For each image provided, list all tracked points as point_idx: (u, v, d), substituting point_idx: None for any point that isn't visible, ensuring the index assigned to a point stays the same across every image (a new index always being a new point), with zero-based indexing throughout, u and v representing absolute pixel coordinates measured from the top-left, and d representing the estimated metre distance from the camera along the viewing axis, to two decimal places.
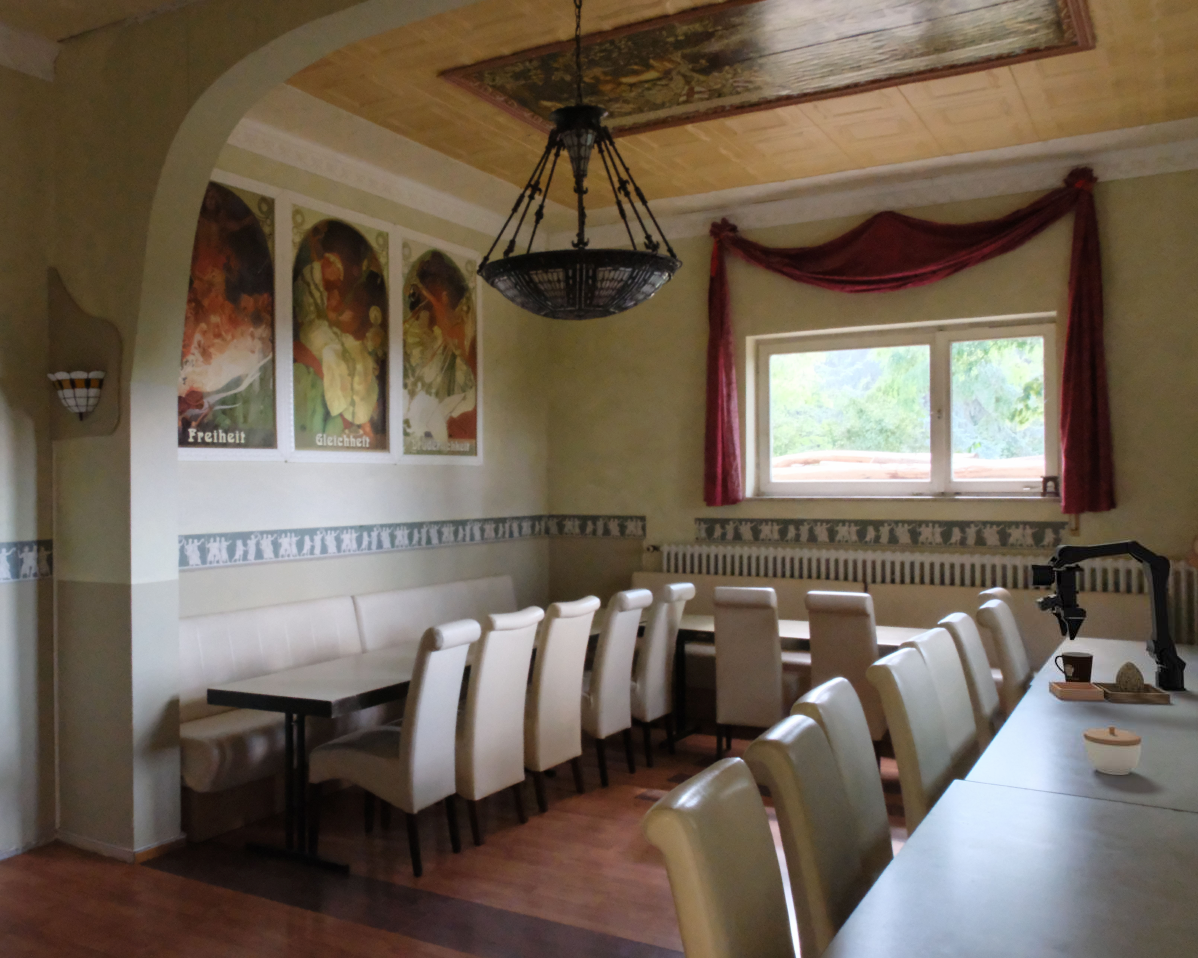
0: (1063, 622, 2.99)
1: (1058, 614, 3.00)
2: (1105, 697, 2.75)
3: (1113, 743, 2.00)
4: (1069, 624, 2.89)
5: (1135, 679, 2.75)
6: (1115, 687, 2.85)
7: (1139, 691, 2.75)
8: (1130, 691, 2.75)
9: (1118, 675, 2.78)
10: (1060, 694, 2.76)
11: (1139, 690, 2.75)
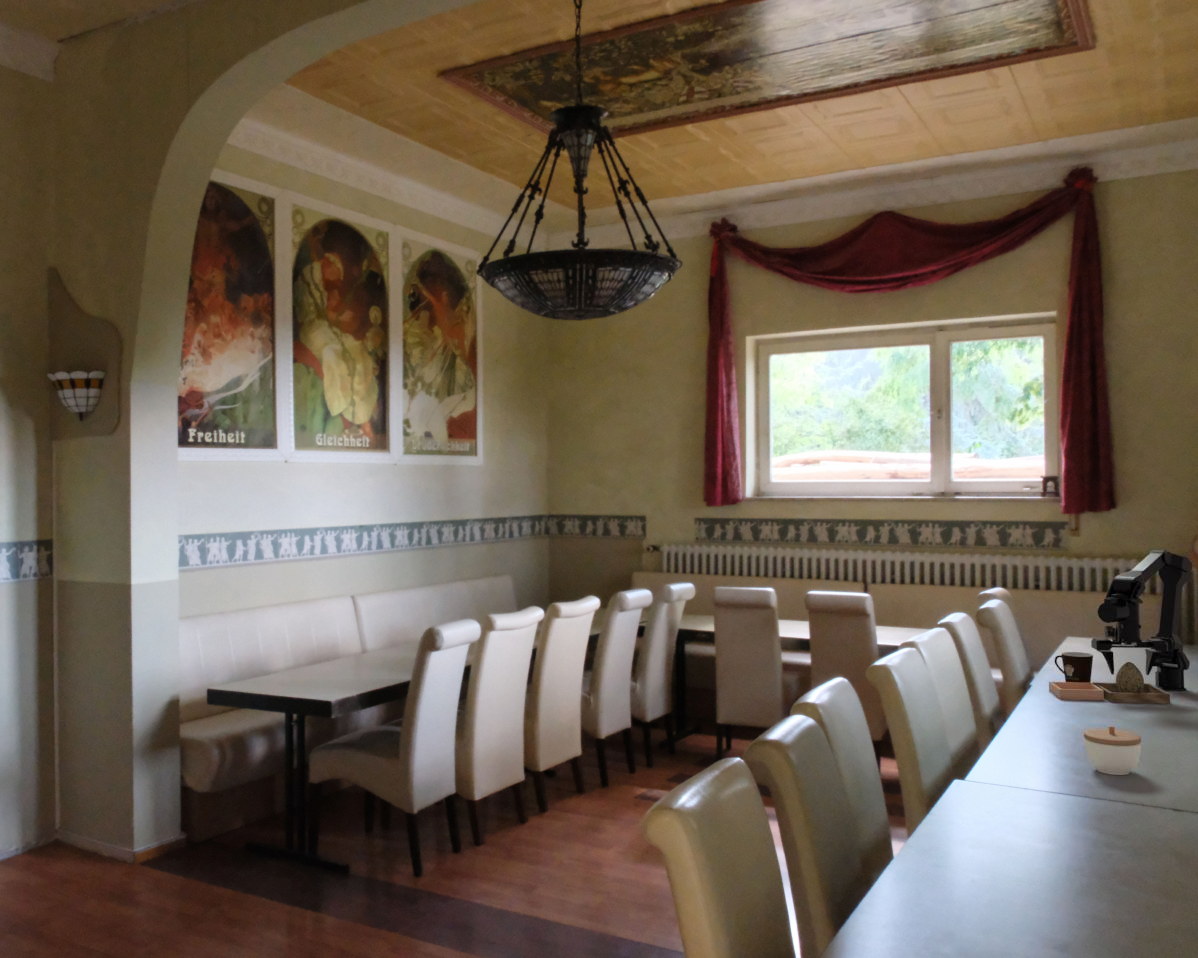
0: (1147, 660, 2.77)
1: (1147, 651, 2.79)
2: (1105, 697, 2.75)
3: (1113, 743, 2.00)
4: (1105, 656, 2.80)
5: (1135, 679, 2.75)
6: (1115, 687, 2.85)
7: (1139, 691, 2.75)
8: (1130, 691, 2.75)
9: (1118, 675, 2.78)
10: (1060, 694, 2.76)
11: (1139, 690, 2.75)
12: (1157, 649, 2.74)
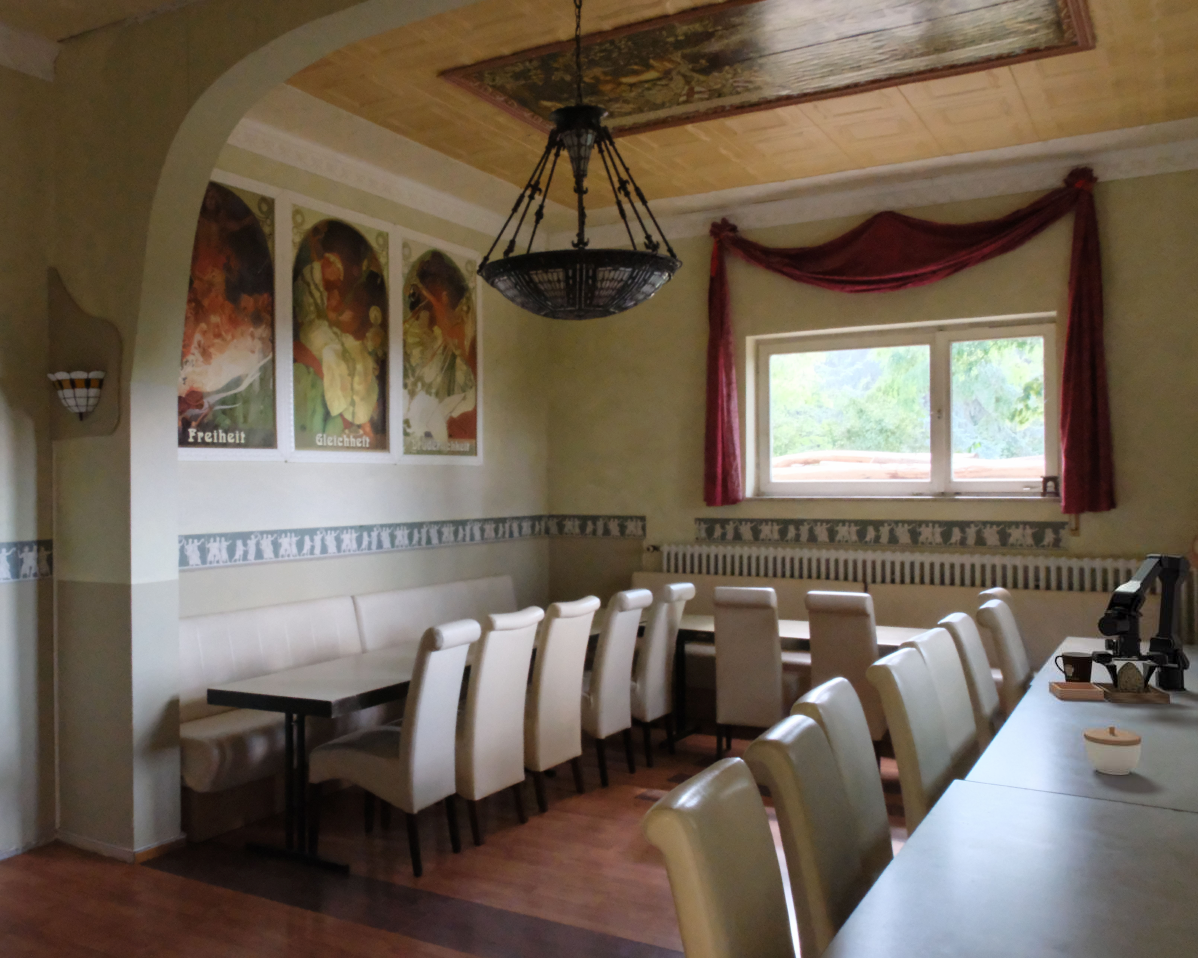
0: (1144, 673, 2.77)
1: (1143, 664, 2.79)
2: (1105, 697, 2.75)
3: (1113, 743, 2.00)
4: (1108, 669, 2.80)
5: (1135, 679, 2.75)
6: None
7: (1139, 691, 2.75)
8: (1130, 691, 2.75)
9: (1118, 675, 2.78)
10: (1060, 694, 2.76)
11: (1139, 690, 2.75)
12: (1157, 663, 2.74)
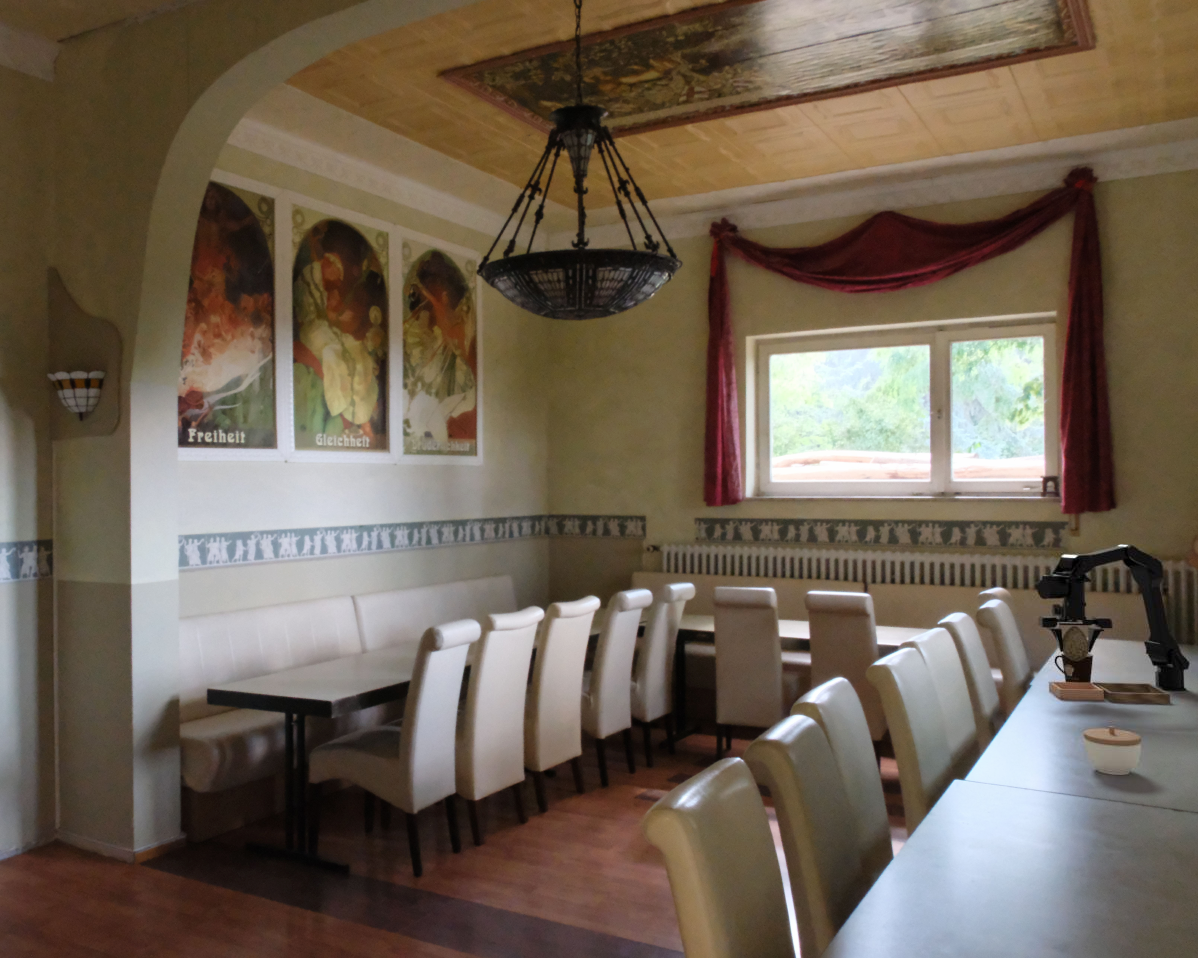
0: (1089, 638, 2.80)
1: (1089, 629, 2.82)
2: (1105, 697, 2.75)
3: (1113, 743, 2.00)
4: (1054, 634, 2.83)
5: (1079, 643, 2.78)
6: (1115, 687, 2.85)
7: (1084, 655, 2.78)
8: (1075, 655, 2.78)
9: (1063, 639, 2.81)
10: (1060, 694, 2.76)
11: (1084, 654, 2.78)
12: (1101, 626, 2.77)
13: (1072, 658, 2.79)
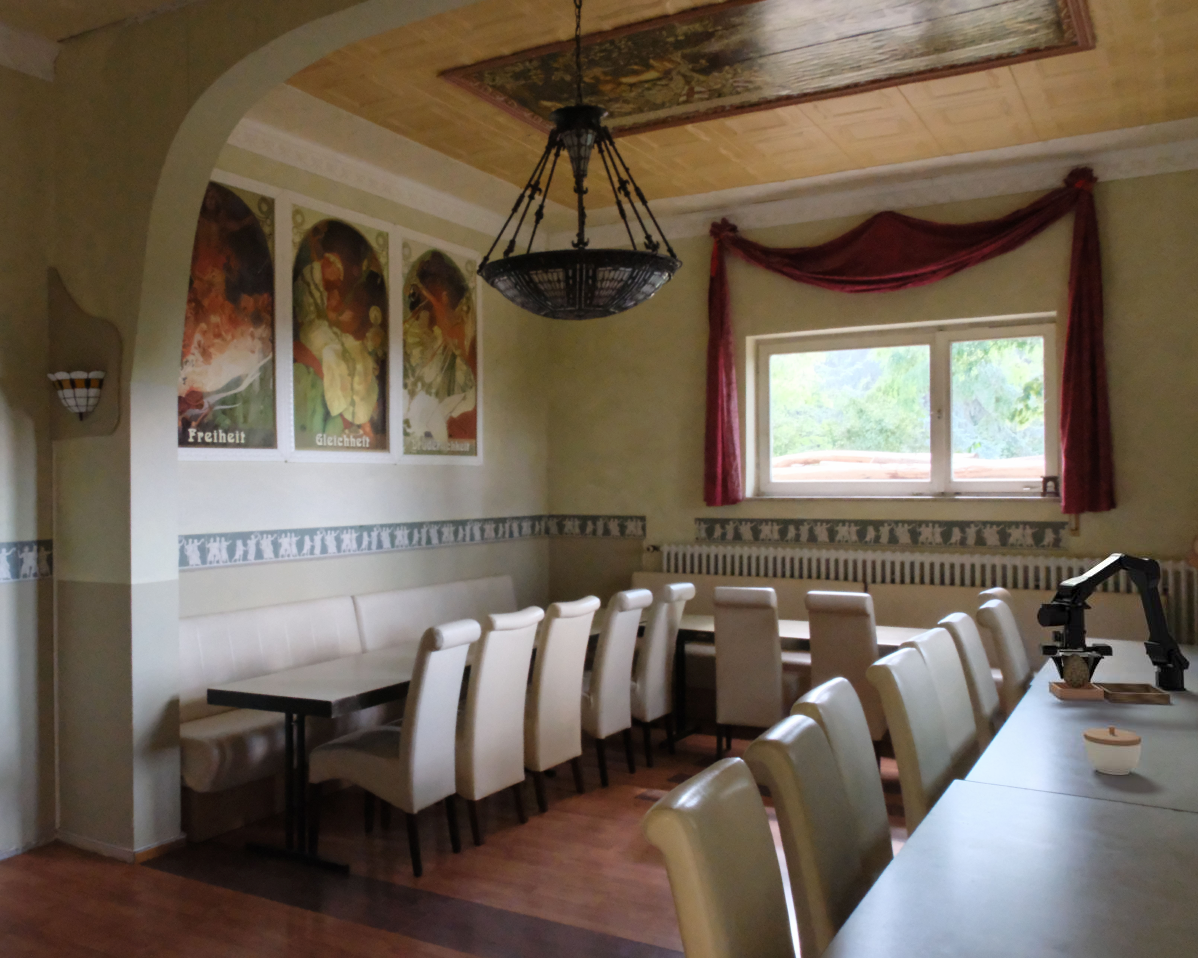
0: (1089, 665, 2.80)
1: (1089, 656, 2.82)
2: (1105, 697, 2.75)
3: (1113, 743, 2.00)
4: (1054, 661, 2.83)
5: (1080, 670, 2.78)
6: (1115, 687, 2.85)
7: (1084, 682, 2.78)
8: (1075, 682, 2.78)
9: (1064, 667, 2.81)
10: (1060, 694, 2.76)
11: (1084, 682, 2.78)
12: (1102, 654, 2.77)
13: (1073, 686, 2.79)
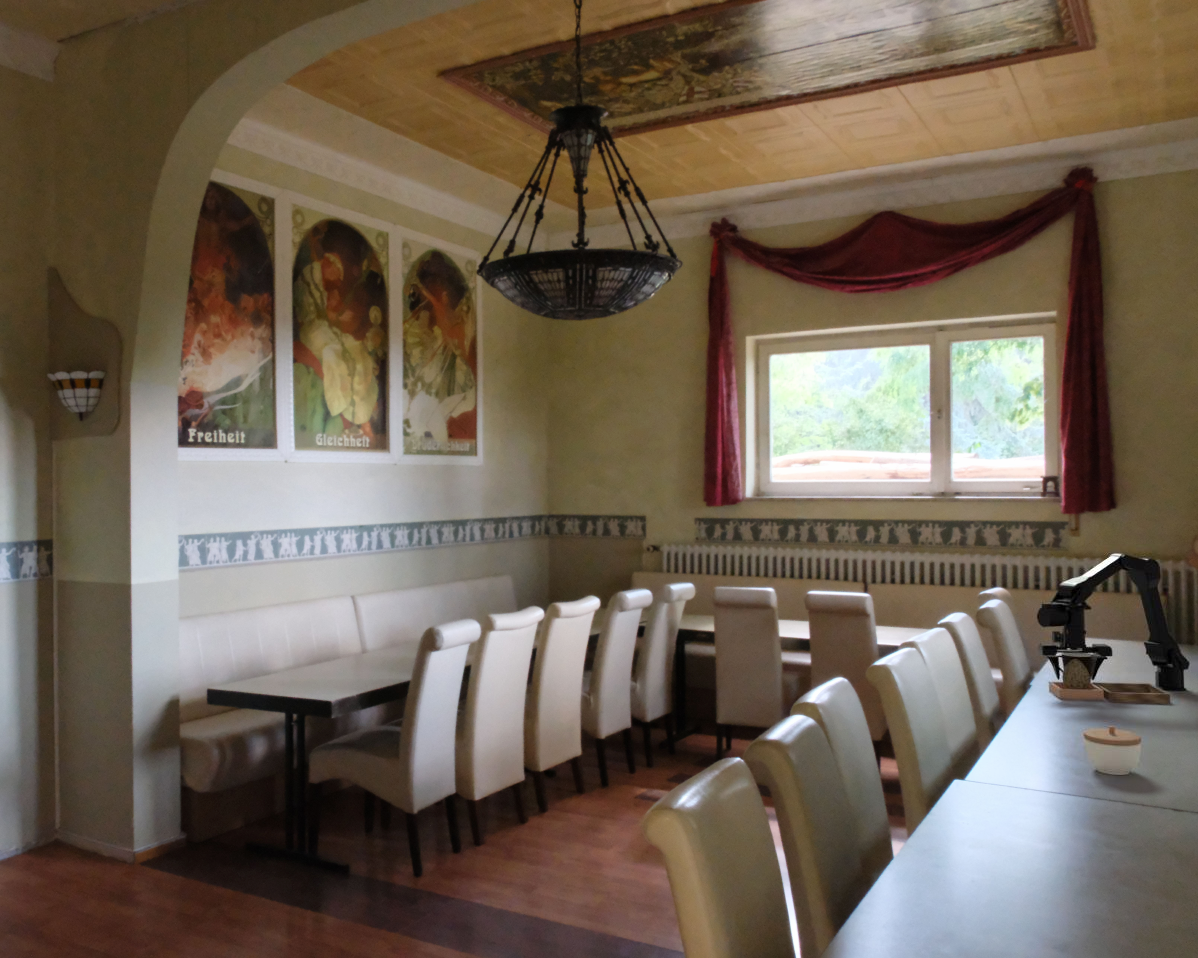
0: (1092, 665, 2.80)
1: (1092, 656, 2.81)
2: (1105, 697, 2.75)
3: (1113, 743, 2.00)
4: (1051, 661, 2.83)
5: (1080, 676, 2.77)
6: (1115, 687, 2.85)
7: (1085, 688, 2.78)
8: (1076, 688, 2.78)
9: (1064, 672, 2.81)
10: (1060, 694, 2.76)
11: (1084, 687, 2.78)
12: (1101, 654, 2.77)
13: None
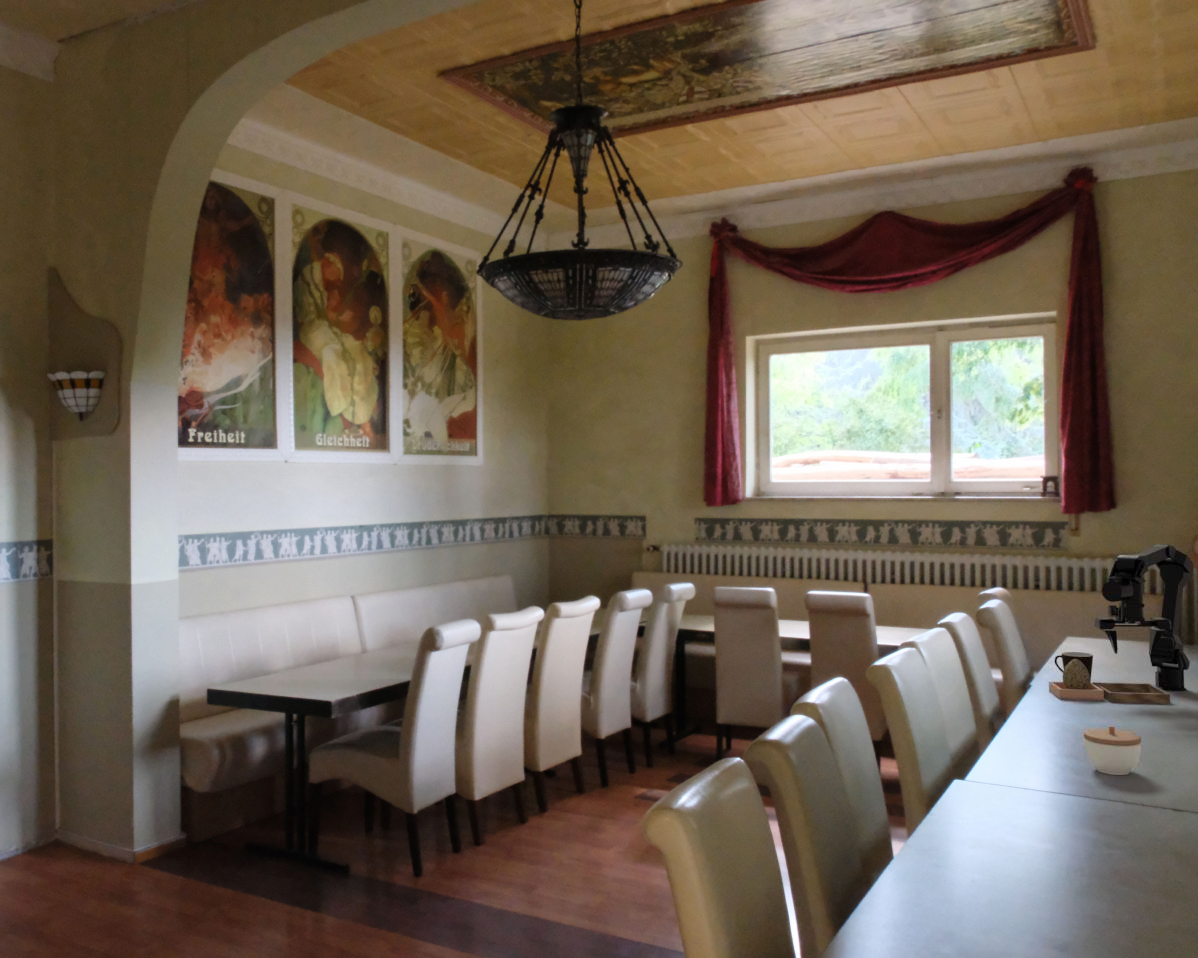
0: (1151, 639, 2.77)
1: (1150, 630, 2.78)
2: (1105, 697, 2.75)
3: (1113, 743, 2.00)
4: (1108, 635, 2.80)
5: (1080, 676, 2.78)
6: (1115, 687, 2.85)
7: (1085, 688, 2.78)
8: (1076, 687, 2.78)
9: (1064, 672, 2.81)
10: (1060, 694, 2.76)
11: (1084, 687, 2.78)
12: (1160, 628, 2.74)
13: None
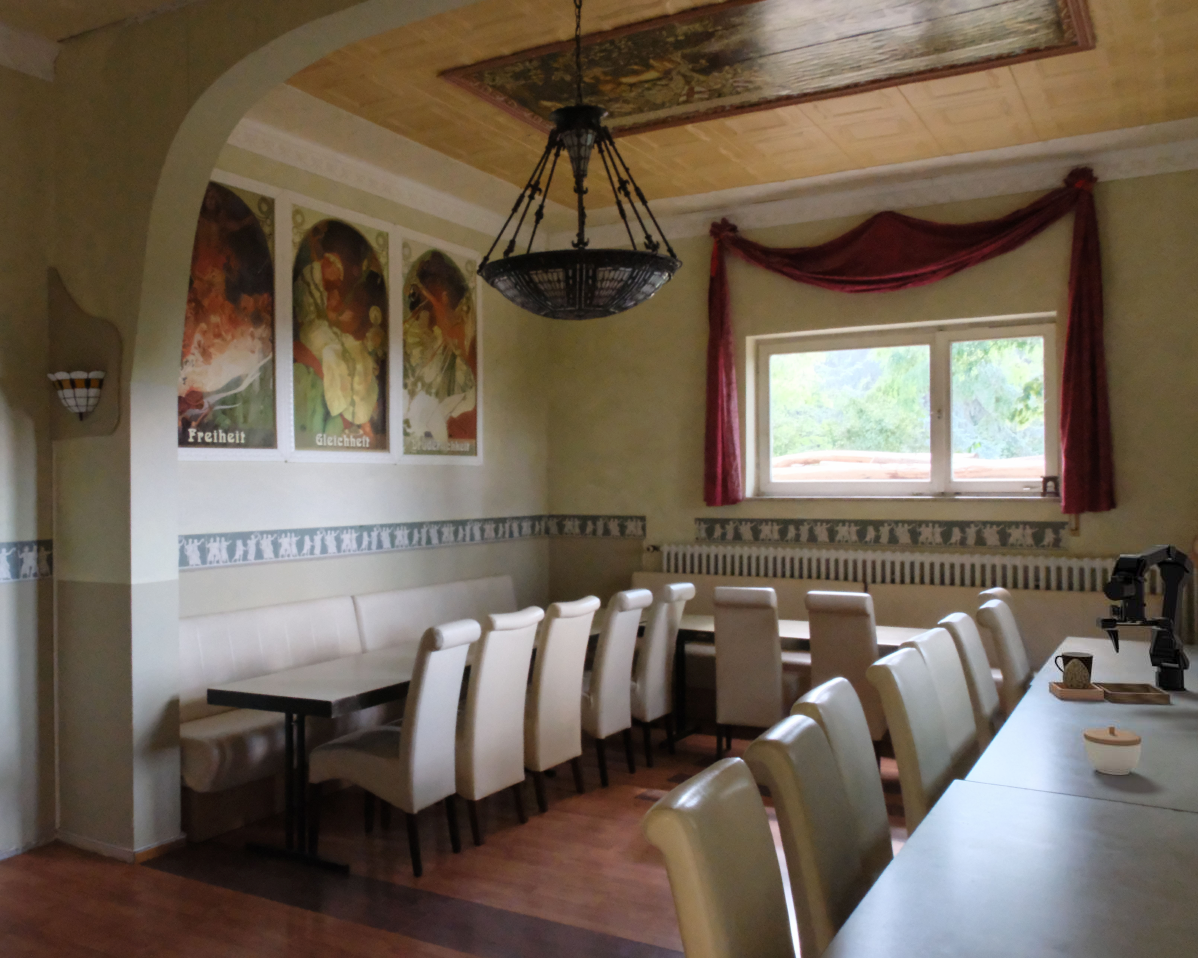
0: (1152, 638, 2.77)
1: (1151, 629, 2.78)
2: (1105, 697, 2.75)
3: (1113, 743, 2.00)
4: (1109, 635, 2.80)
5: (1080, 676, 2.78)
6: (1115, 687, 2.85)
7: (1084, 688, 2.78)
8: (1075, 688, 2.78)
9: (1064, 672, 2.81)
10: (1060, 694, 2.76)
11: (1084, 687, 2.78)
12: (1162, 627, 2.74)
13: None
